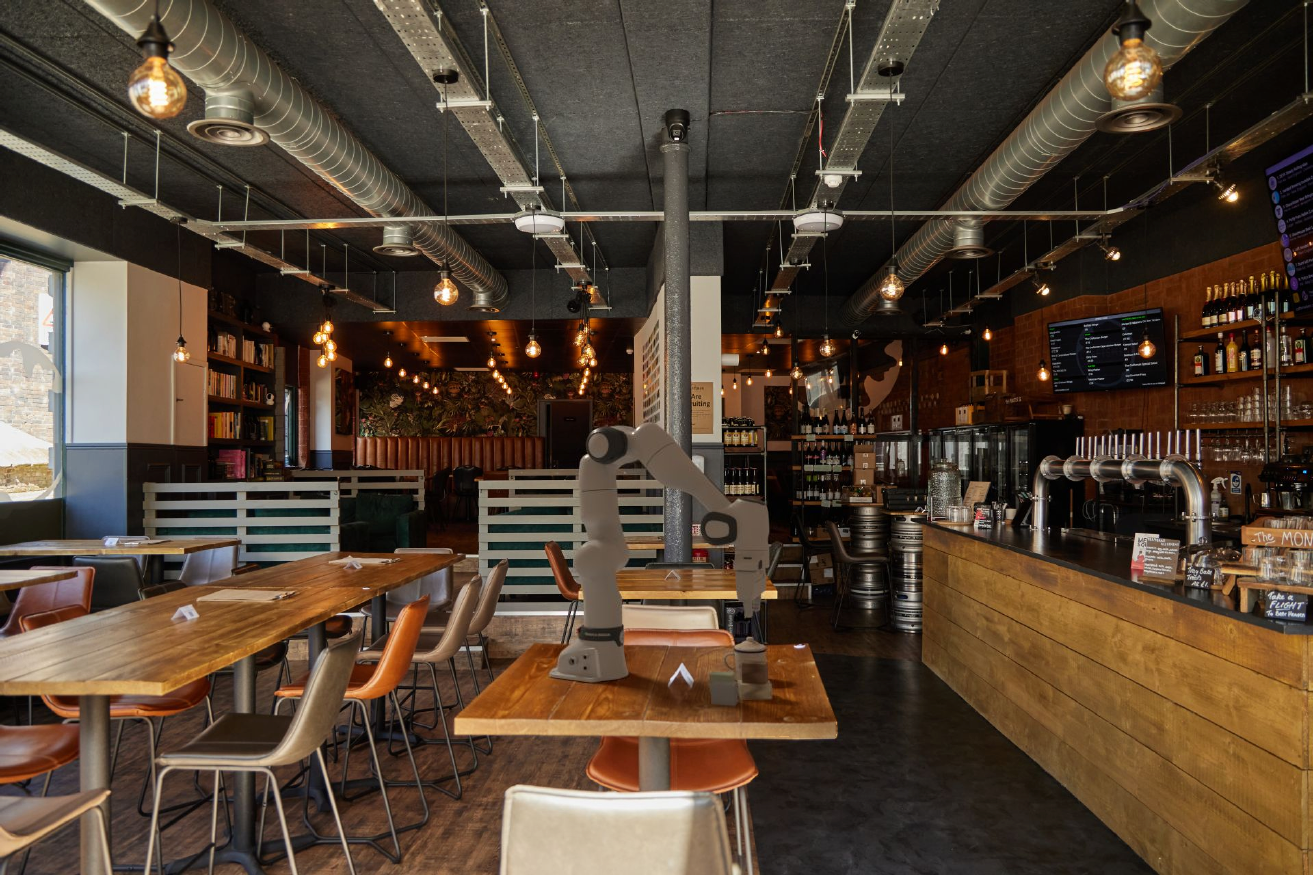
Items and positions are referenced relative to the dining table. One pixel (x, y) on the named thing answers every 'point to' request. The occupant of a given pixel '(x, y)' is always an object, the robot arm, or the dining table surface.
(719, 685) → the grey block
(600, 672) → the robot arm
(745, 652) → the teacup with lid
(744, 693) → the maple block
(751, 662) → the walnut block
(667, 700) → the dining table surface
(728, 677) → the sage block
